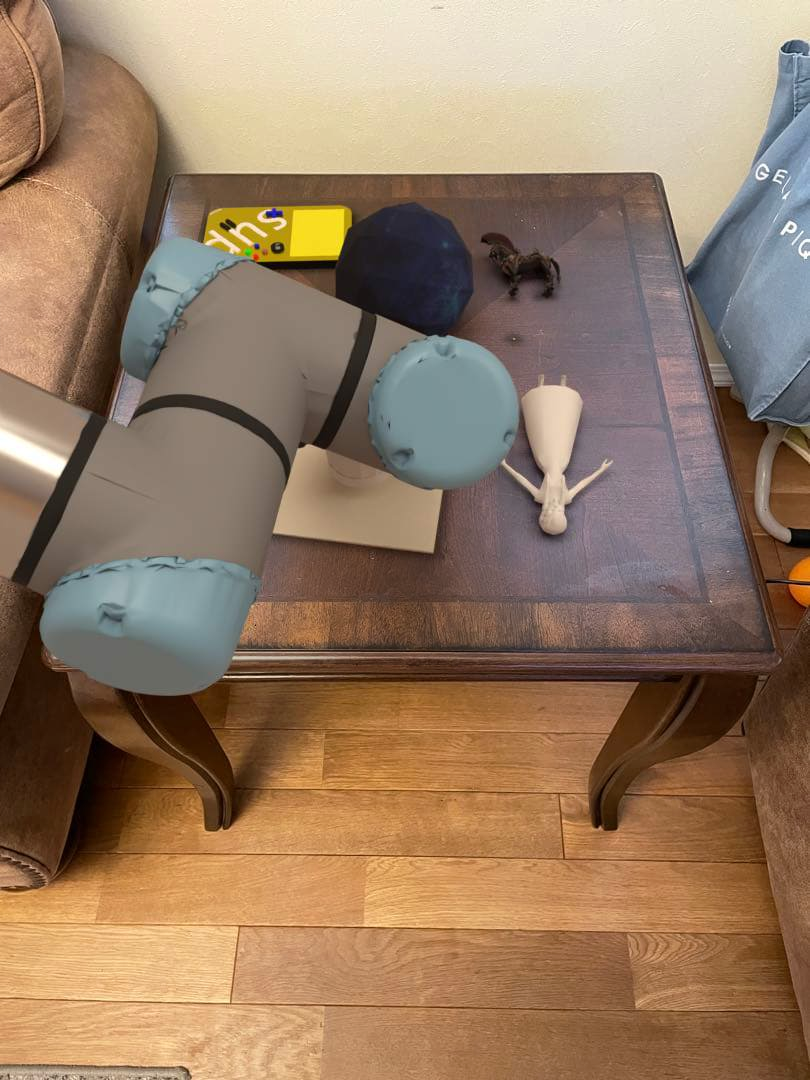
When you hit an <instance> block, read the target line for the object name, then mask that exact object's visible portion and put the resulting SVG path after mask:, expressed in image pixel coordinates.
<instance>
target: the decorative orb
mask: <svg viewBox="0 0 810 1080" xmlns="http://www.w3.org/2000/svg"><path fill="white" fill-rule="evenodd" d="M473 267H474V266H473V255H472V253H471V252H470V250H469V248H468V246H467V245H466V243H465V241H464V240H463V238H462V236H461V234H460V233H459V231H458V229H457V228H456V226H455V224H454V223H453V221H452V219H449V218H447V217H446V216H444V215H441V214H440V213H438V212H435V211H434V210H432V209H430V208H428V207H426V206H424V205H422V204H420V203H418V202H416V201H414V202H412V201H411V202H408V203H402V204H397V205H391V206H385V207H382V208H379V209H378V210H377V211H374V213H372V214H370V215H369V216H367V217H364V218H363V219H361V220H360V221H358V222H357V223H355V224H352V226H351V227H350V228H348V230H347V233H346V236H345V239H344V242H343V245H342V248H341V251H340V254H339V257H338V260H337V263H336V266H335V268H334V269H335V270H334V271H335V275H334V276H335V278H334V279H335V298H337V299H339V300H341V301H343V302H346V303H348V304H350V305H353V306H355V307H357V308H359V309H362V310H364V311H366V312H368V313H371V314H373V315H375V314H377V315H379V316H381V317H384V318H386V319H389V320H391V321H393V322H396V323H398V324H400V325H402V326H405V327H407V328H409V329H412V330H414V331H416V332H419V333H421V334H423V335H426V336H428V337H429V336H434V335H437V336H439V337H445V335H446V334H448V333H450V332H451V331H452V330H454V329H455V328H457V327H458V324H459V322H460V320H461V318H462V316H463V314H464V312H465V310H466V308H467V306H468V304H469V302H470V300H471V298H472V296H473V294H474V291H475V287H474V271H473V270H474V269H473Z"/></svg>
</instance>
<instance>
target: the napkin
mask: <svg viewBox="0 0 810 1080" xmlns="http://www.w3.org/2000/svg"><path fill="white" fill-rule="evenodd" d="M443 492H444V490H438V489H433V490H425V489H422V488H418V487H415V486H413V485H410V484H408V483H405V482H403V481H400V480H399V479H397V478H395V477H394V476H393V475H392V474H390V475H389V476H388V477H387V478H386V479H385V480H384V481H382V482H380V483H379V484H376V485H374V486H370V487H364V488H356V487H350V486H347V485H344V484H342V483H340V482H339V481H337V480H336V479H335V478H334V477H333V475H332V474H331V472H330V470H329V466H328V459H327V455H326V451H325V449H321V448H318V447H315V446H313V445H309V444H307V445H305V447H303V448H298V449H297V452H296V456H295V459H294V462H293V466H292V469H291V472H290V476H289V479H288V483H287V486H286V489H285V491H284V493H283V496H282V500H281V504H280V508H279V511H278V515H277V519H276V523H275V526H274V530H273V534H272V535H273V536H274V535H277V536H284V537H291V538H299V539H308V540H315V541H323V542H334V543H341V544H348V545H349V544H350V545H358V546H365V547H375V548H383V549H390V550H398V551H407V552H414V553H422V554H432V555H433V554H434V550H435V545H436V537H437V531H438V524H439V519H440V513H441V512H440V511H441V505H442V500H443V499H442V498H443Z"/></svg>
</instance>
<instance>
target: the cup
mask: <svg viewBox="0 0 810 1080" xmlns="http://www.w3.org/2000/svg"><path fill="white" fill-rule="evenodd" d="M325 451H326V455H327V459H328V466H329V470H330V472H331V474H332V475H333V477H334V478H335V479H336V480H337V481H339V482H340V483H342V484H344V485H347V486H350V487H356V488H364V487H370V486H374V485H376V484H379V483H380V482H382V481H384V480H385V479H386V478H387V477H388V476H389V475H390V474H389V473H386V472H384V471H381V470H378V469H376V468H373V467H371V466H368V465H365V464H363V463H360V462H357V461H355V460H352V459H349V458H347V457H344V456H341V455H339V454H336V453H333V452H331V451H328V450H325Z"/></svg>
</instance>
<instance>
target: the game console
mask: <svg viewBox="0 0 810 1080" xmlns="http://www.w3.org/2000/svg"><path fill="white" fill-rule="evenodd" d="M351 226H353V212H352V210H351V209H350V208H349V207H348V206H345V205H341V204H340V205H338V204H337V205H334V204H333V205H297V206H296V205H295V206H292V205H291V206H254V207H252V206H247V207H220V208H216V209H213V210H211V211H210V212H209V213H208V215H207V220H206V226H205V232H204V238H203V242H202V243H203V244H205V245H210V246H213V247H216V248H218V249H221V250H224V251H226V252H229V253H232V254H234V255H238V256H248V257H250V258H251V259H253V260H255V261H256V263H257V264H259V265H261V266H263V267H265V268H268V269H270V270H305V269H335V266H336V263H337V260H338V257H339V254H340V251H341V248H342V245H343V242H344V239H345V236H346V233H347V230H348V228H350V227H351Z"/></svg>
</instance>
